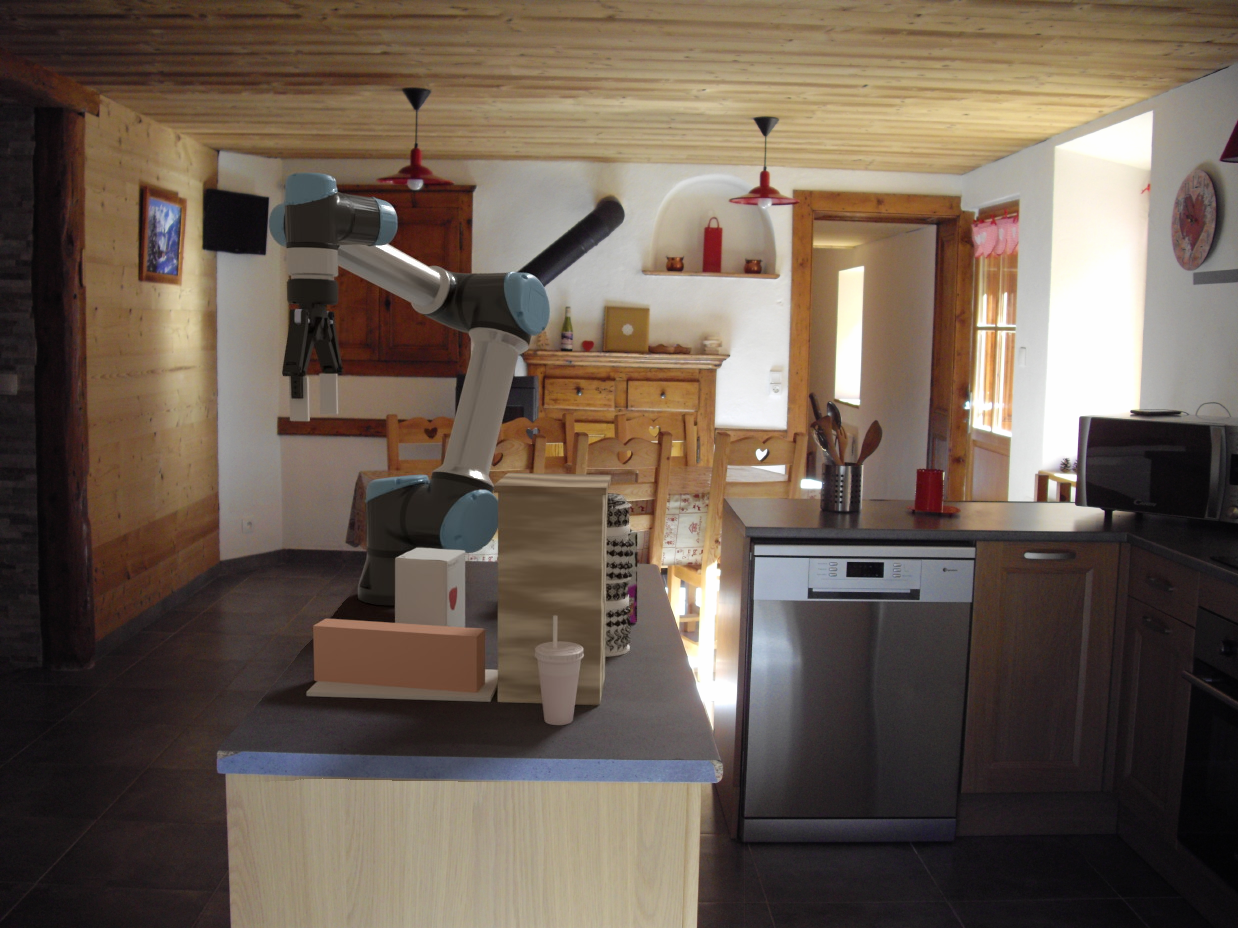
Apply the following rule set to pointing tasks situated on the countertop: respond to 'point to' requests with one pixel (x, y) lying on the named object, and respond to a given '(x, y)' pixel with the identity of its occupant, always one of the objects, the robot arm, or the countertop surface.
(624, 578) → the decorative candle
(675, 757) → the countertop surface
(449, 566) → the supplement box
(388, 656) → the block
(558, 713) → the smoothie
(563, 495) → the stand
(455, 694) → the mat
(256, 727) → the countertop surface
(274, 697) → the countertop surface
